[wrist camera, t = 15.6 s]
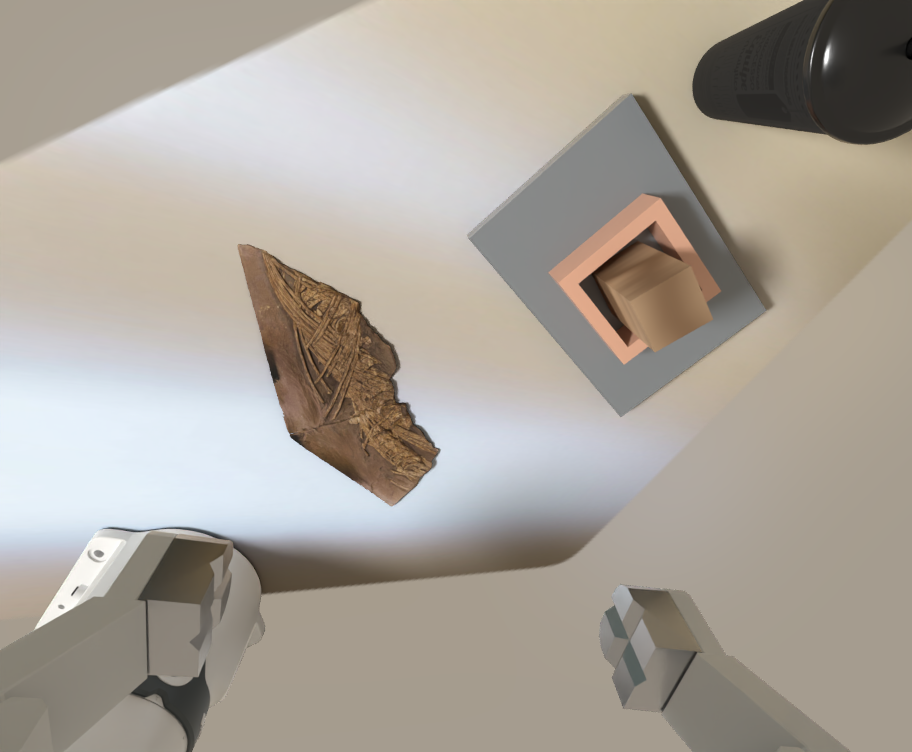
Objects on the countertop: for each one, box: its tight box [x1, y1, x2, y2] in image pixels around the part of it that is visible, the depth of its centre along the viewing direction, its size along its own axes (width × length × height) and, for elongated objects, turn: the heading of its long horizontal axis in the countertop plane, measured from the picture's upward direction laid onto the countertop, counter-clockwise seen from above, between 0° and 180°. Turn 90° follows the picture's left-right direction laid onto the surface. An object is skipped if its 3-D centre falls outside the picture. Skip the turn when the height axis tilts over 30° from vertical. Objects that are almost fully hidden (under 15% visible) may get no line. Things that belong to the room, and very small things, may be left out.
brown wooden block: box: [591, 241, 713, 352], centre depth 36 cm, size 4×4×8 cm
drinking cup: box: [693, 0, 912, 145], centre depth 26 cm, size 8×8×20 cm
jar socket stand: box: [467, 93, 766, 417], centre depth 39 cm, size 14×20×4 cm
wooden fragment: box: [238, 244, 438, 506], centre depth 43 cm, size 26×11×1 cm, turn 20°
